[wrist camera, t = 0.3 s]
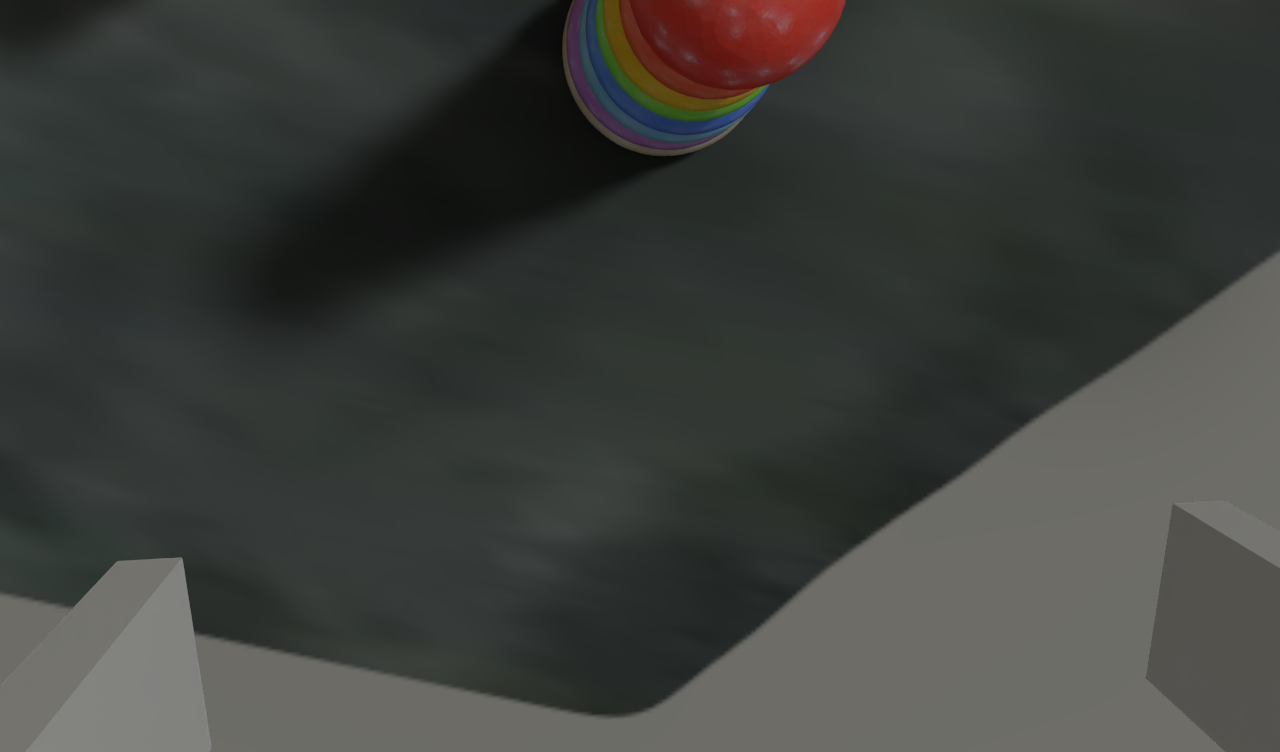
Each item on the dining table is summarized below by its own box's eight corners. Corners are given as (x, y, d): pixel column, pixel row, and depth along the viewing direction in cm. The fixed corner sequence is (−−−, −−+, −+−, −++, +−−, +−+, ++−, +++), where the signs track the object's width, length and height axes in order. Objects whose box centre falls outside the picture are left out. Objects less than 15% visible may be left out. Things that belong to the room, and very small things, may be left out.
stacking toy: (763, 151, 38) (930, 167, 20) (568, 158, 38) (560, 180, 20) (763, -58, 36) (948, -248, 18) (557, -53, 36) (538, -243, 18)
